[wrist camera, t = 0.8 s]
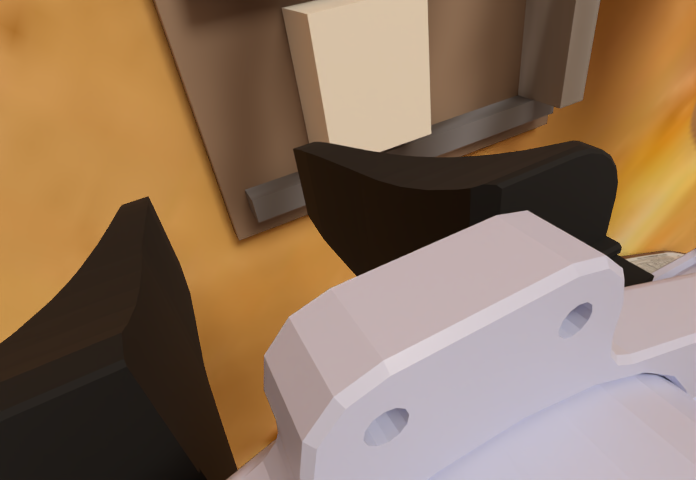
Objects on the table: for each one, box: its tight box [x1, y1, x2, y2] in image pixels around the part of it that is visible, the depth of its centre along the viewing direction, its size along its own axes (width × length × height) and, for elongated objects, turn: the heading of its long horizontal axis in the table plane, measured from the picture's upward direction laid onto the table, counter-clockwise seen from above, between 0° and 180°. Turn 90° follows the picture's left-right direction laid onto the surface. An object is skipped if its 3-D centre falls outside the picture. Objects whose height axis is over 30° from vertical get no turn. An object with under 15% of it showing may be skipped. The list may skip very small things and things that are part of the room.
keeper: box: [282, 0, 431, 152], centre depth 19 cm, size 5×6×3 cm
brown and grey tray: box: [153, 0, 600, 240], centre depth 20 cm, size 20×13×4 cm, turn 100°
